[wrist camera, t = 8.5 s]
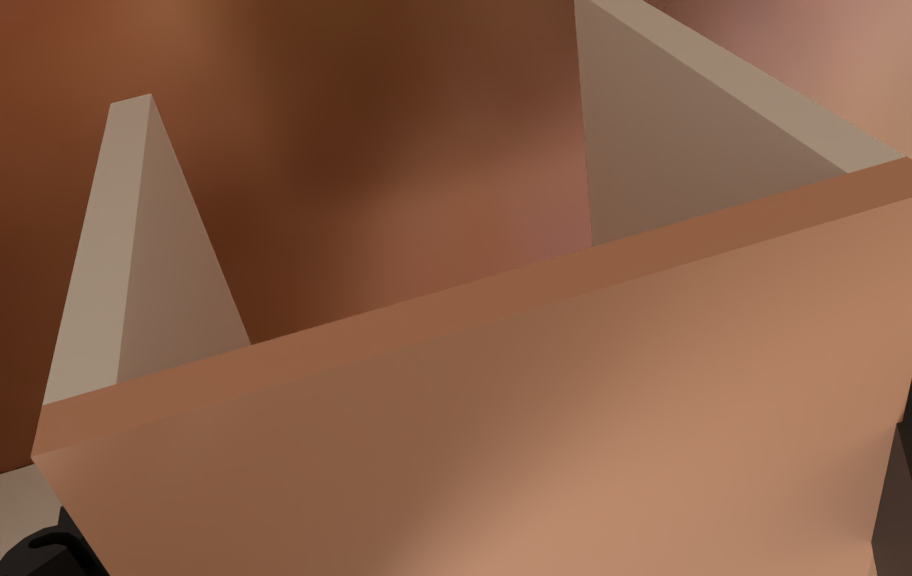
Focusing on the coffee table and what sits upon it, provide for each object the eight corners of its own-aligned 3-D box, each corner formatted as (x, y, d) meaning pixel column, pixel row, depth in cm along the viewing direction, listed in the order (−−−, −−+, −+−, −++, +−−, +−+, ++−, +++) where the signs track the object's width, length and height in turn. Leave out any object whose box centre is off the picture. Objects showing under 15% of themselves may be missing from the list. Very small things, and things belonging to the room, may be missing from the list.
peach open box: (266, 463, 20) (305, 866, 13) (110, 103, 14) (30, 457, 7) (627, 353, 21) (847, 668, 14) (608, -20, 15) (955, 185, 8)
